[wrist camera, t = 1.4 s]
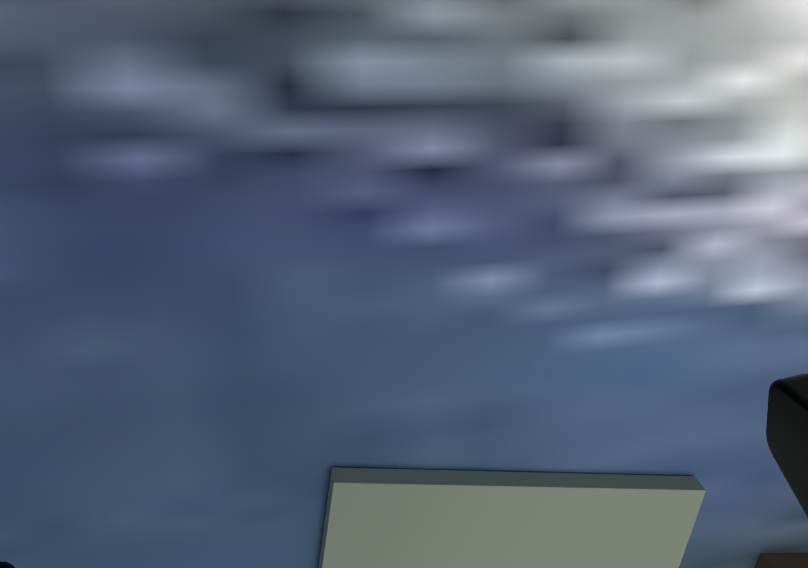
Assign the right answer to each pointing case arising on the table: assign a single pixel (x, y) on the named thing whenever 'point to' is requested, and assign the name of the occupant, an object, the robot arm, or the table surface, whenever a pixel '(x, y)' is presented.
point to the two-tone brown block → (782, 560)
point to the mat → (506, 519)
